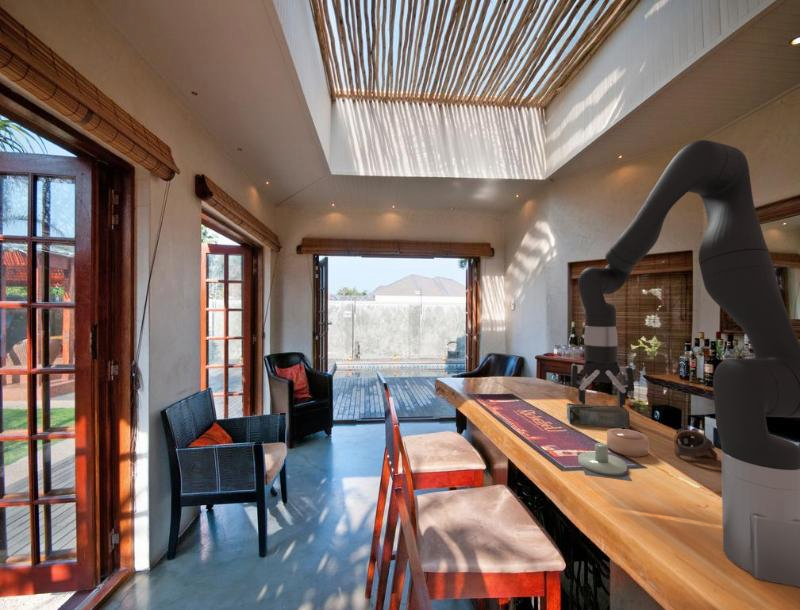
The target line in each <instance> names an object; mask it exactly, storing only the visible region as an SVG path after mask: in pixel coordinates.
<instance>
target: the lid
mask: <svg viewBox="0 0 800 610" xmlns="http://www.w3.org/2000/svg"><path fill="white" fill-rule="evenodd" d="M577 461H578V464H579V465H580V467H582V466H583V467H584V468H586V469H588V470H590V471H593V472H596V473H600V474H605V475H622V474H625V473H626V472H627V473H628V464H627V463H626V461H624V460H623V459H621V458H620V457H618V456H616V455H615V456H614V455H611V454H609V447H608V445H607V443H606V444H605V443H601V442H596V443H595V444H594V451H586V452H585V451H584V452H581V454H579V455H577Z"/></svg>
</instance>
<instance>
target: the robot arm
mask: <svg viewBox="0 0 800 610" xmlns="http://www.w3.org/2000/svg"><path fill="white" fill-rule="evenodd" d="M751 183H752V182H751V175H750V167H749V163H748V159H747V157H746V155H745V154H744V153H743V152H742V150H740V149H738V148H737V147H734V146H731V145H727V144H724V143H721V142H717V141H714V140H713V141H712V140H707V139H706V140H705V139H701V140H699V139H698V140H696V141H693V142H692V141H691V142H690V143H689V144H687V145H685V146H684V147H682V148H681V149H680V150H679V151H678V152H677V154H676V155H675V156H674V157H673V158H672V159H671V161H670V162H669V164H668V165H667V166H666V168H665V169H664V171H663V173H662V174H661V176H660V178H659V179H658V180H657V181H656V183H655V185H654V187H653V188H652V190H651V191H650V193H649V195H648V196H647V198H646V199H645V201H644V203H643V204H642V206H641V208H640V209H639V211H638V212H637V214H636V215H635V216H634V218H633V219H632V221H630V224H629V225H628V226H627V227H626V229H625V230H624V231H623V232H622V233H621V235H620V236H619V237H618V238H617V239H616V241H614V242H613V243H612V244H611V246H610V247H609V248H608V250H607V251H606V252H605V255H604V257H605V261H606V263H608V264H607V265H606V266H605V267H597V266H596V267H594V266H592V267H591V266H590V267H587V268H585V269H583V270H582V271H581V273H580V275H579V277H578V279H577V286H578V292H579V294H580V295H579V296H580V298H581V299H580V300H581V302H582V306H583V309H584V311H585V313H584V315H585V316H584V319H585V321H584V323H585V324H584V325H585V327H584V333H583V334H584V336H583V337H584V338H583V342H584V343H583V344H584V363H583V364H582V365H580V364H575V363H572V364H570V365H571V369H570V385H571V387H573V388H576V389H577V393H578V395H577V396H578V397H577V399H578V401H579V402H580V403H581V404H584V405H586V390H585V389H586V388H587V387H588V385H590V384H591V383H592V382H594V383H603V384H609V383H612V384H613V385H614V386H615V387H616V388H617V392H616V397H617V399H616V400H617V401H616V402H617V405H616V406H618V407H624V406H625V405H626V393H628V392H633V391H635V383H634V370H633V368H632V367H630V366H629V365H626V366H619V364H618V363H619V362H618V361H619V359H618V358H619V355H618V353H619V352H618V349H619V348H618V347H619V346H618V331H617V311H616V309H617V308H616V307H615V306H614V305H613V304H611V303H608V302H607V301H606V299H605V296H604V295H611V294H614V293H616V292H618V291H619V290H620V289H621V288H622V287H624V285H625V283H626V282H627V280H628V279H629V277H630V275H631V273H632V271H633V269H634V267H635V266H636V265H637V264H639V263H640V262H641V260H643V258H644V257H646V255H648V253H649V252H650V251H651V250H652V249H653V247H654V246H655V245H656V243H657V241H658V240H659V237H660V235H661V232H662V229H663V226H664V223H665V219H666V218H667V215H668V214H669V212H670V211H671V209H672V208H673V207H674V205H675V204H676V203H678V202H679V200H680V199H681V198H683V196H685V195H686V194H687V193H693V194H697V195H699V196H700V198H701V201H702V202H703V205H704V209H705V212H706V216H707V218H706V219H707V227H706V230H705V233H704V236H703V238H702V241H701V244H700V248H699V251H698V265H699V269H700V273H701V278H702V280H703V281H702V282H703V285H704V289H705V290H706V292H707V294H708V295H709V297H710V298H711V299H712V300H713V301H714V302H715V304H717V305H718V306H719V307H720V308H721V309H722V310H723V311H724V312H725V313H726V314H727V315H728V316H729V317H731V319H733V321H734V322H736V324H737V325H739V327H740V328H741V329H742V330H743V332H744V333H745V335H746V337H747V339H748V341H749V343H750V345H751V348H752V351H753V354H754V358H729V359H724V360H722V361H721V362H720V363H719V364H718V365H717V366H716V368H715V370H714V373H713V378H712V387H713V388H712V393H713V394H712V395H713V402H714V413H715V425H716V431H717V434H718V437H719V438H720V439H719V440H720V445H721V447H720V448H721V452H720V453H721V501H722V502H721V505H722V506H721V511H722V513H721V514H722V516H721V517H722V542H723V543H722V544H723V549H722V550H723V553H724V555H726V558H728V559H729V560H730V561H731V562H733V563H734V564H736V565H737V566H738V567H739V568H741V569H743V570H745V571H747V572H749V573H750V574H751V575H752V576H753V577H754V578H755V579H757V580H763V581H766V582H767V581H768V582H771V583H777V584H782V585H787V586H792V587H797V588H800V446H798V445H797V444H796V443H794V442H792V441H789V440H787V439H784V438H781V437H779V436H776V435H773V434H770V432H769V429H768V425H767V418H766V417H769V418H770V417H772V418H800V341H799V338H798V337H797V334H796V331H795V329H794V327H793V324H792V321H791V319H790V316H789V313H788V312H787V311H788V310H787V308H786V306H785V302H784V299H783V296H782V293H781V290H780V287H779V284H778V280H777V276H776V271H775V267H774V263H773V260H772V257H771V255H770V254H771V253H770V251H769V248H768V246H767V243H766V239H765V236H764V234H763V230H762V226H761V221H760V220H759V217H758V213H757V211H756V208H755V203H754V198H753V191H752V184H751ZM582 370H583V372H584V373H585V374H586V375H585V376H584V377H582V379H581V381H580V382H579V383H578V374H580V373H581V372H582ZM620 372H621V373H622V375H623V376H624V379H625V385H622V383H621V382H620V381H619V379H617V376H618V375H619V373H620Z"/></svg>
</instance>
